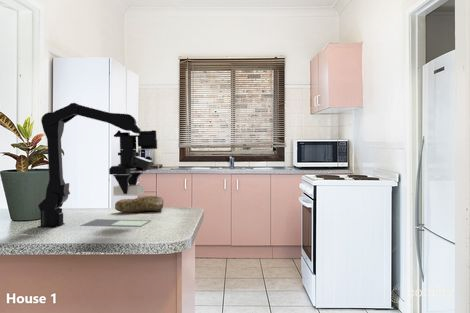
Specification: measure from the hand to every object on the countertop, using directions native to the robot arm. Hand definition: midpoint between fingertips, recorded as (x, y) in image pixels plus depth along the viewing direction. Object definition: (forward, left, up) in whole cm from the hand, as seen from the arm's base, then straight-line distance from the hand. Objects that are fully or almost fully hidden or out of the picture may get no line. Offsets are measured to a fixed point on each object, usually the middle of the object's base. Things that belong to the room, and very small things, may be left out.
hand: (129, 192), depth 138 cm
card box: (0, 0, -1) cm, 1 cm away
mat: (-5, 0, -11) cm, 12 cm away
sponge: (-6, +27, -12) cm, 30 cm away
